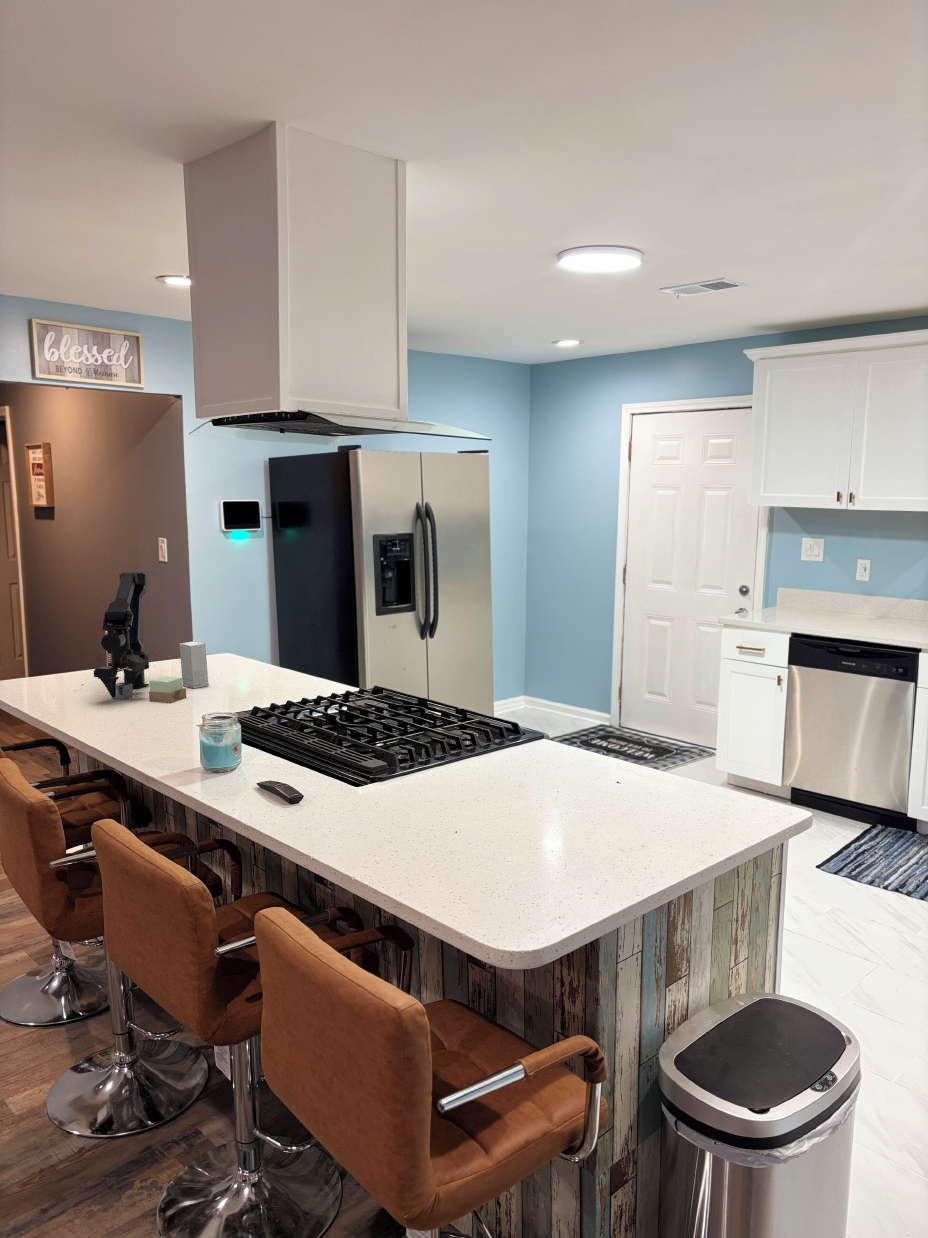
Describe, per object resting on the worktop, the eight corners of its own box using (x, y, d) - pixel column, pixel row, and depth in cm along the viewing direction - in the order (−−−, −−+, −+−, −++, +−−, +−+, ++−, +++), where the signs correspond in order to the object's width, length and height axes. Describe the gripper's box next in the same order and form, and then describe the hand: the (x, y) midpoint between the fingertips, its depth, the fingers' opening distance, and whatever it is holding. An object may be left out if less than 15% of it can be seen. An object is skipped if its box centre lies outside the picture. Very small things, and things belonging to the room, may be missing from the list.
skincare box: (208, 686, 304) (207, 643, 302) (192, 689, 300) (190, 645, 298) (197, 682, 310) (195, 640, 308) (180, 685, 306) (178, 642, 304)
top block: (163, 687, 289) (163, 676, 289) (182, 688, 287) (181, 677, 287) (149, 691, 283) (149, 680, 282) (168, 693, 280) (168, 682, 280)
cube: (121, 696, 290) (120, 682, 289) (132, 697, 289) (132, 683, 288) (111, 699, 286) (111, 685, 285) (123, 700, 284) (122, 686, 284)
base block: (165, 697, 290) (164, 686, 290) (186, 699, 288) (185, 688, 287) (149, 702, 283) (148, 691, 282) (170, 704, 280) (170, 693, 280)
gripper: (121, 652, 274) (123, 703, 276) (160, 643, 291) (162, 690, 293) (91, 650, 277) (93, 700, 279) (131, 641, 295) (133, 688, 297)
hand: (122, 694), depth 287 cm, fingers open, 8 cm apart
